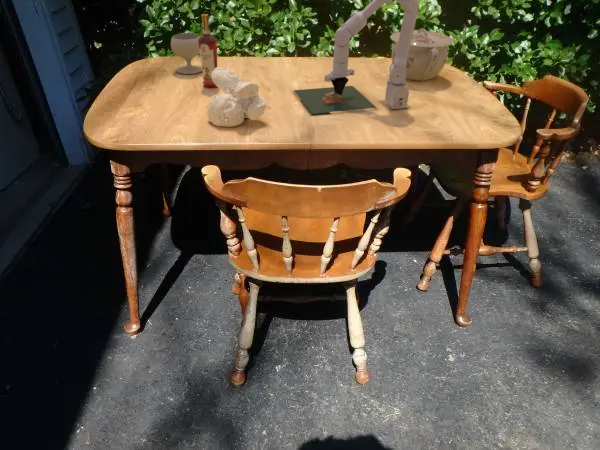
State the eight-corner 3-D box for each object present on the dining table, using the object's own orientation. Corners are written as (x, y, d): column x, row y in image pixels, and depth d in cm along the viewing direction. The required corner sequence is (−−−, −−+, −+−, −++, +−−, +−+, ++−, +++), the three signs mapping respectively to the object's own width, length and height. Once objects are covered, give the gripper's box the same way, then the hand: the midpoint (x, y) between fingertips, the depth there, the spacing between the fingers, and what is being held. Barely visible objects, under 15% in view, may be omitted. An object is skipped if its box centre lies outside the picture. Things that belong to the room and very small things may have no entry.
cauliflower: (185, 97, 162) (224, 57, 165) (213, 133, 178) (248, 96, 182) (219, 116, 152) (259, 73, 155) (245, 152, 168) (281, 113, 172)
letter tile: (332, 96, 189) (332, 91, 188) (340, 99, 187) (340, 94, 185) (324, 99, 187) (324, 94, 185) (332, 102, 184) (333, 97, 183)
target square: (342, 102, 185) (342, 101, 185) (326, 103, 183) (326, 103, 183) (337, 96, 190) (337, 96, 190) (321, 97, 189) (321, 97, 188)
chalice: (211, 69, 218) (208, 35, 209) (190, 77, 208) (186, 41, 200) (188, 64, 224) (185, 31, 215) (167, 71, 214) (162, 37, 206)
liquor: (199, 87, 197) (192, 15, 181) (206, 82, 203) (200, 12, 187) (216, 89, 196) (210, 17, 180) (222, 83, 202) (217, 13, 186)
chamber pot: (398, 64, 231) (404, 18, 219) (453, 74, 220) (463, 26, 208) (375, 79, 211) (381, 30, 200) (435, 90, 200) (444, 39, 188)
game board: (376, 109, 181) (376, 107, 181) (311, 115, 175) (311, 113, 174) (352, 87, 201) (352, 85, 201) (293, 92, 195) (293, 90, 195)
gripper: (346, 55, 187) (344, 89, 195) (319, 62, 179) (318, 97, 187) (359, 60, 182) (356, 94, 190) (332, 66, 175) (330, 102, 182)
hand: (338, 96), depth 188 cm, fingers closed
